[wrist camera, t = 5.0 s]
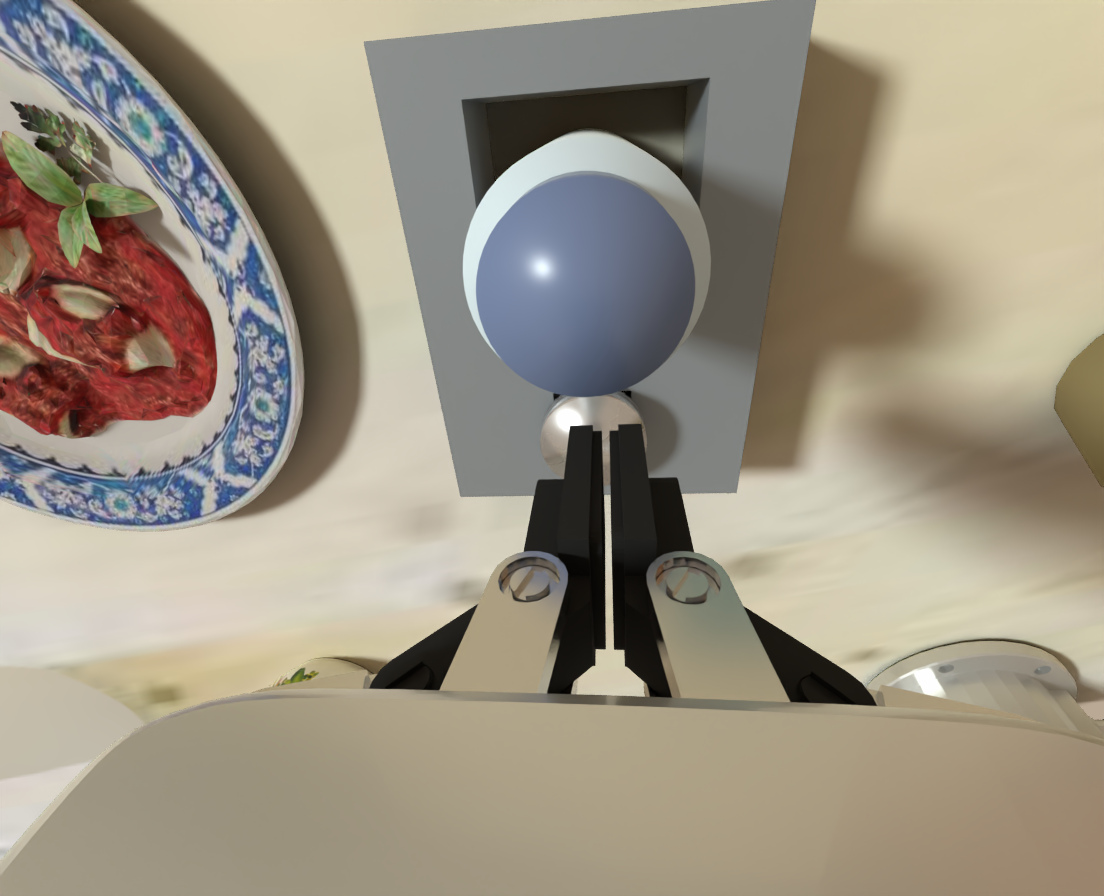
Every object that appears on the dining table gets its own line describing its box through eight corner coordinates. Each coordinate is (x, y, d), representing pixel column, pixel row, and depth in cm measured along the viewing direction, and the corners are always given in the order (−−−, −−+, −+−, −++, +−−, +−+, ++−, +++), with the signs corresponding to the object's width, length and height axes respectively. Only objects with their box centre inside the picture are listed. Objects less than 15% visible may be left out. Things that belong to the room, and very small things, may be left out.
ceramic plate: (94, 553, 33) (53, 589, 30) (-440, 125, 21) (-583, 126, 18) (427, 420, 26) (410, 453, 23) (-91, -356, 13) (-247, -465, 11)
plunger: (638, 346, 22) (648, 395, 18) (636, 427, 24) (645, 486, 20) (545, 350, 22) (535, 398, 18) (551, 429, 24) (544, 487, 20)
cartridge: (656, 122, 18) (742, 127, 8) (651, 268, 21) (709, 414, 10) (516, 134, 18) (423, 153, 8) (529, 275, 21) (471, 421, 11)
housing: (407, 56, 17) (363, 41, 14) (769, 21, 16) (816, -5, 13) (477, 448, 26) (460, 496, 23) (717, 442, 25) (736, 492, 22)
